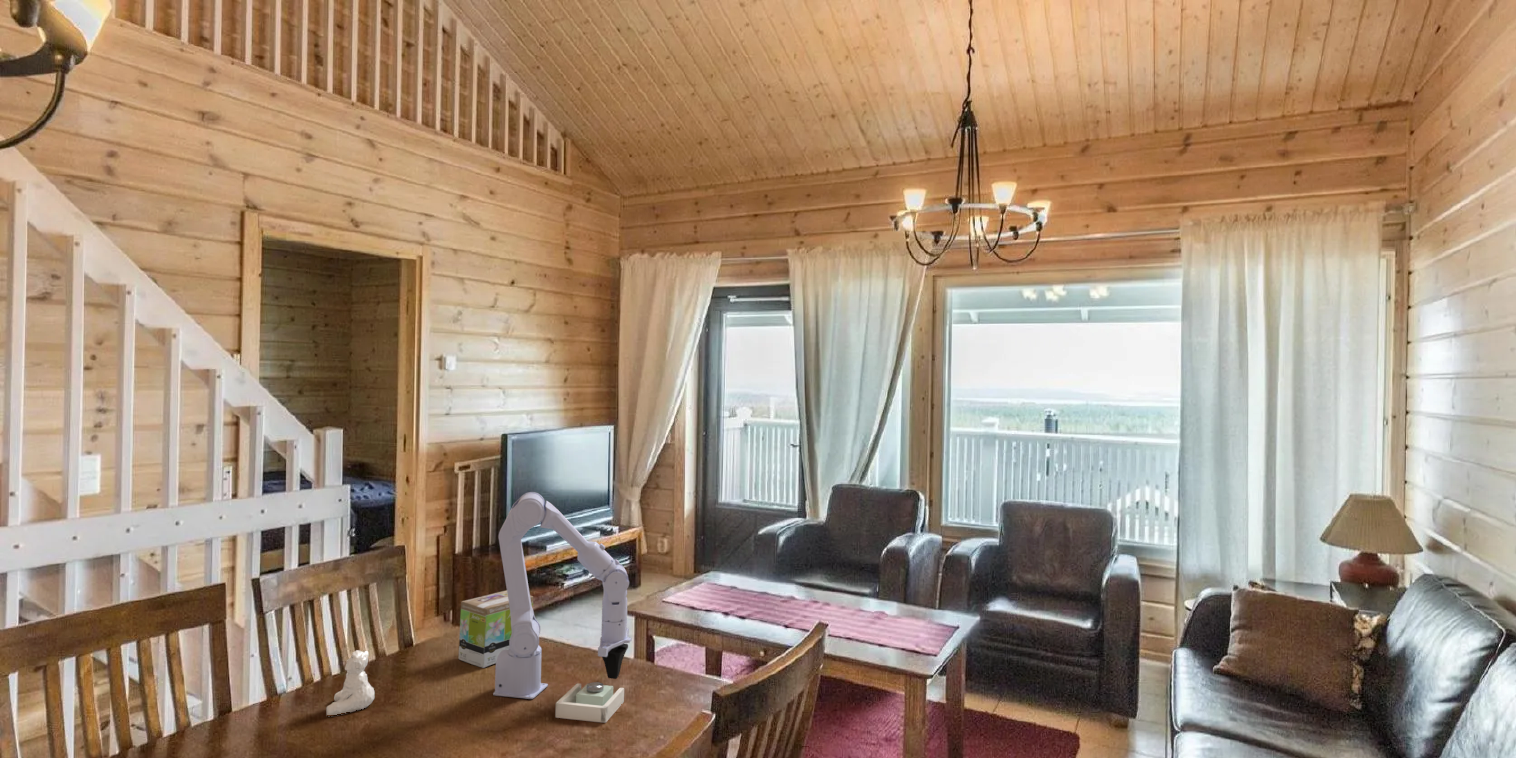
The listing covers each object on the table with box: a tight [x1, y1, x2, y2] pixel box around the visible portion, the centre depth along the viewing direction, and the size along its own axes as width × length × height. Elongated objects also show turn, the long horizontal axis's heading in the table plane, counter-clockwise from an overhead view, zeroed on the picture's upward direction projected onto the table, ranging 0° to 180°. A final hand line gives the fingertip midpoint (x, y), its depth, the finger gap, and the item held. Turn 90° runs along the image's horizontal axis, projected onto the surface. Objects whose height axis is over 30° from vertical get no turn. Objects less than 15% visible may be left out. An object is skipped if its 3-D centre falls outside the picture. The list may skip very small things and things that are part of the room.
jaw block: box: [576, 681, 614, 706], centre depth 177 cm, size 6×6×4 cm
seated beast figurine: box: [325, 649, 376, 716], centre depth 173 cm, size 10×9×12 cm
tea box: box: [458, 589, 534, 669], centre depth 205 cm, size 15×10×15 cm
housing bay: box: [554, 683, 625, 724], centre depth 174 cm, size 11×11×3 cm
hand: (613, 677), depth 187 cm, fingers closed
